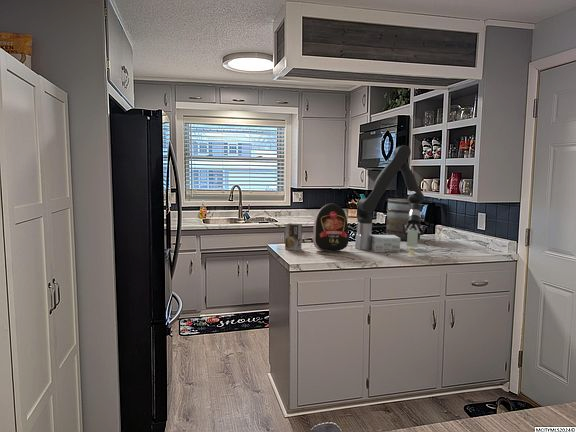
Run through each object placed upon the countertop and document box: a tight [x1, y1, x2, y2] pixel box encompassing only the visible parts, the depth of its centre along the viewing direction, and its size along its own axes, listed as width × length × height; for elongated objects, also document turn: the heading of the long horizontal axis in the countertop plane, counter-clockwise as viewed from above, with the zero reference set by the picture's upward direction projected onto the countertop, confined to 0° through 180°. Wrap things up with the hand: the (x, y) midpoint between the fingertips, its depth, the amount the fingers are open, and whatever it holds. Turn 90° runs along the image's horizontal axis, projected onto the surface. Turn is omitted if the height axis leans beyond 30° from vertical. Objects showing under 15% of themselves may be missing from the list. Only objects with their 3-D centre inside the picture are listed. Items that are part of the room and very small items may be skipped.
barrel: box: [385, 198, 410, 242], centre depth 327 cm, size 22×22×30 cm
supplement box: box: [370, 234, 401, 253], centre depth 280 cm, size 17×13×9 cm
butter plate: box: [396, 247, 426, 259], centre depth 265 cm, size 12×12×4 cm
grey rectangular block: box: [406, 228, 419, 248], centre depth 264 cm, size 9×6×10 cm, turn 162°
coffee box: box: [284, 222, 303, 251], centre depth 270 cm, size 9×6×16 cm
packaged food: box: [312, 202, 350, 252], centre depth 268 cm, size 22×20×30 cm
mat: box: [406, 248, 432, 254], centre depth 278 cm, size 12×12×1 cm
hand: (412, 239), depth 263 cm, fingers closed on grey rectangular block, 6 cm apart
